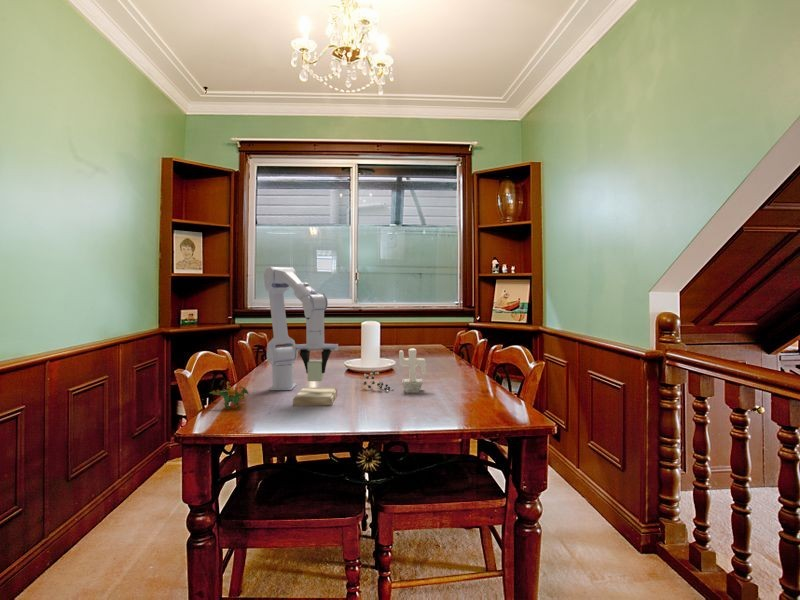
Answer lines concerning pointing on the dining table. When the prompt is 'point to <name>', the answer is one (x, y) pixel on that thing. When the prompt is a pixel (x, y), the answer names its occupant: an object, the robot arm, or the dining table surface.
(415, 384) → the figurine
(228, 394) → the figurine
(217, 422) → the dining table surface
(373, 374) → the molecule model
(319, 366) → the sage block
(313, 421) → the dining table surface
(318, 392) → the birch base
